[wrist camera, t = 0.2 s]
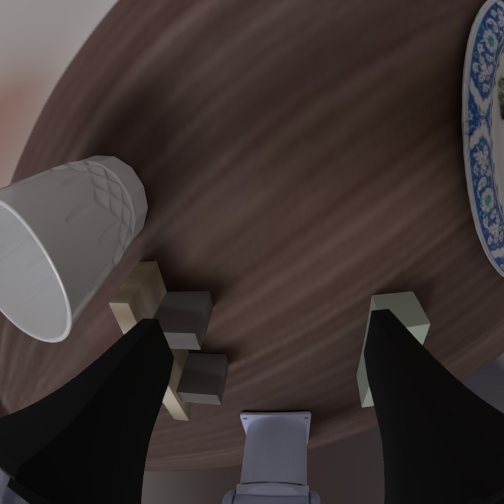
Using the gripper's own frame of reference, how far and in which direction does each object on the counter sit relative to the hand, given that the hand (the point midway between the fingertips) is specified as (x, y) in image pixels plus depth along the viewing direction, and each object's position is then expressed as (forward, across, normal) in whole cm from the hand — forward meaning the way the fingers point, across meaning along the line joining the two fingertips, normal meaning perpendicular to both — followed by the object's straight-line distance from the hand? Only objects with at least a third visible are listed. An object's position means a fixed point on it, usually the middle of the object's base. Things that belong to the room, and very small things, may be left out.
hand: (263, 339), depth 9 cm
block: (+10, -9, +11) cm, 17 cm away
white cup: (+10, +11, -3) cm, 15 cm away
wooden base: (+10, +8, +9) cm, 15 cm away
